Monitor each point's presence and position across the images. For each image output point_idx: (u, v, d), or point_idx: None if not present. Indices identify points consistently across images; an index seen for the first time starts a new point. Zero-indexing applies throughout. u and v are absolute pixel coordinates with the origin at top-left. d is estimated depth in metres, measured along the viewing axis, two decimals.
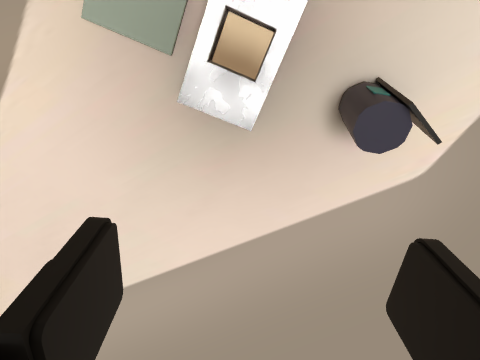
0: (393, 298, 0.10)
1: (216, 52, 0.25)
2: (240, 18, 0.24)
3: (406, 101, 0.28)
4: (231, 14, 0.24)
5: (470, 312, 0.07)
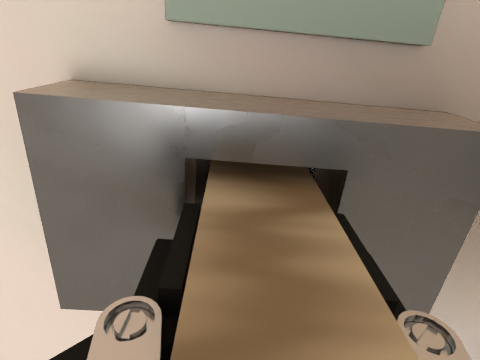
0: None
1: None
2: None
3: None
4: None
5: None
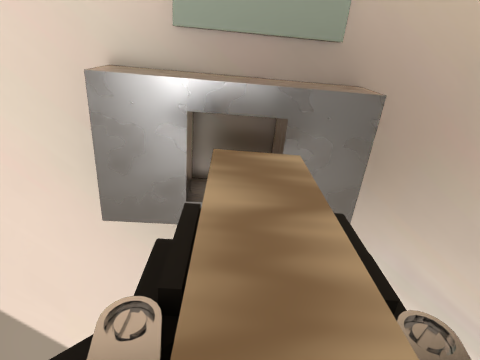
0: None
1: None
2: None
3: None
4: None
5: None
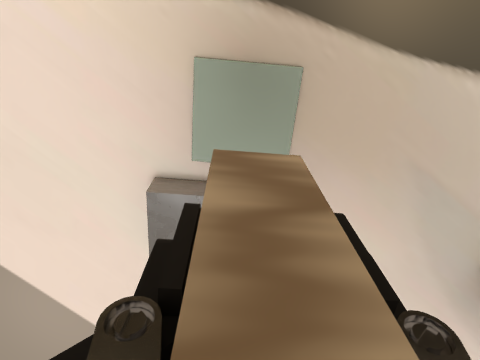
0: None
1: None
2: None
3: None
4: None
5: None
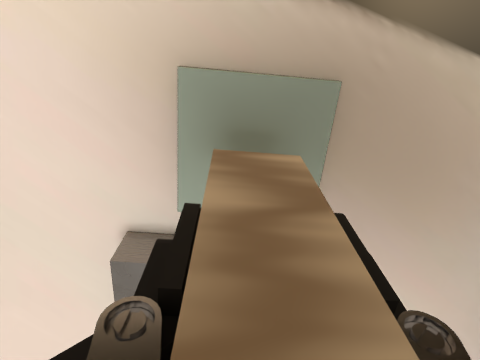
0: None
1: None
2: None
3: None
4: None
5: None
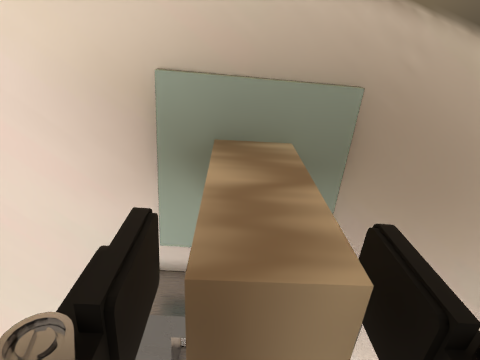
0: None
1: (222, 285, 0.06)
2: (357, 321, 0.07)
3: None
4: (365, 295, 0.06)
5: (410, 287, 0.07)
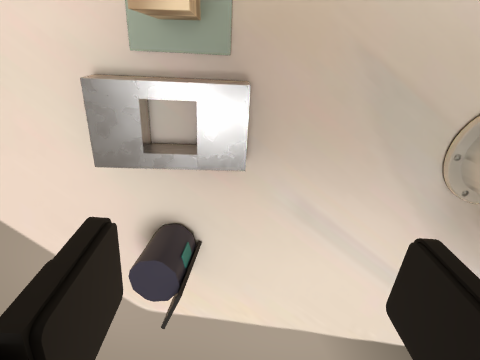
0: (393, 298, 0.10)
1: None
2: None
3: (181, 289, 0.32)
4: None
5: (470, 312, 0.07)
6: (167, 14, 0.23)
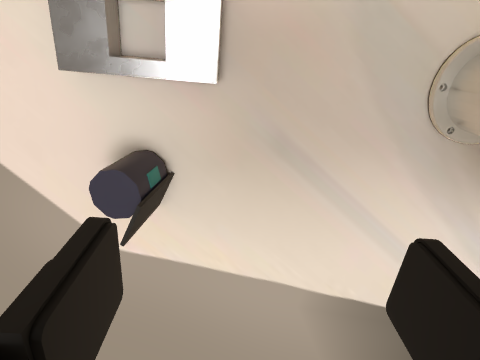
0: (393, 298, 0.10)
1: None
2: None
3: (142, 202, 0.30)
4: None
5: (470, 312, 0.07)
6: None
